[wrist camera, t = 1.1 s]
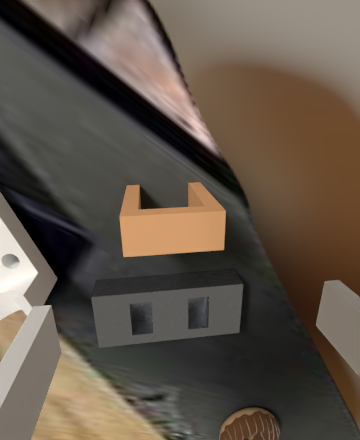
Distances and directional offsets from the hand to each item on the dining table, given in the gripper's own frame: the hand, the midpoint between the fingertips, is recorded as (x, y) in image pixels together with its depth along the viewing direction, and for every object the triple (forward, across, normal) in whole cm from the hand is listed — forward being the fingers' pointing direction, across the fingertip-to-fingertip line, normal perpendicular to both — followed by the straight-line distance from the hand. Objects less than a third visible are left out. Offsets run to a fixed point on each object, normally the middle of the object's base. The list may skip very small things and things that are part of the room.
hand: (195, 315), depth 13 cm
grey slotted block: (+20, 0, -14) cm, 24 cm away
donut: (+21, +13, -42) cm, 48 cm away
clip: (+20, 0, 0) cm, 20 cm away
